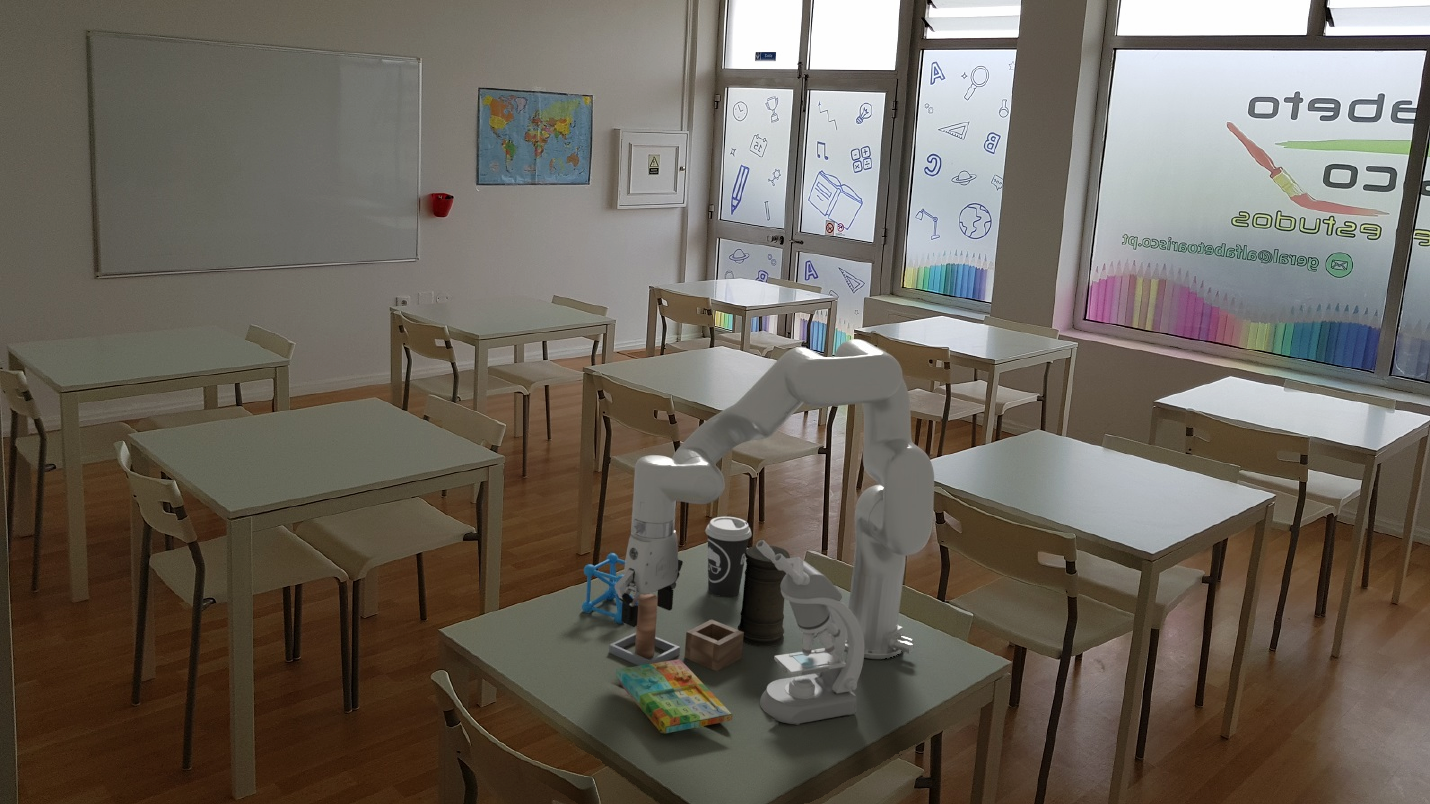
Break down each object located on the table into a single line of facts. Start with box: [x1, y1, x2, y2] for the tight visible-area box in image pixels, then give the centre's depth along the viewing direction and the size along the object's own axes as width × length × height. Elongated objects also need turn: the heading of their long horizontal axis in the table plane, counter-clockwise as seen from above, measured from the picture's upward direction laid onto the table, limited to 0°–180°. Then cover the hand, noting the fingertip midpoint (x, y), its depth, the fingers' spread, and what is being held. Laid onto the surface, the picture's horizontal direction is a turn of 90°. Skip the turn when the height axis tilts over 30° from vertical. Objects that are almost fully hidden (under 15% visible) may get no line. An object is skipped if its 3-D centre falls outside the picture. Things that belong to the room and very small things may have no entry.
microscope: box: [755, 539, 865, 726], centre depth 187 cm, size 11×19×30 cm, turn 116°
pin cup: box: [684, 619, 744, 672], centre depth 204 cm, size 7×7×6 cm
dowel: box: [634, 593, 658, 659], centre depth 203 cm, size 4×4×11 cm
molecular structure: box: [581, 552, 638, 624], centre depth 222 cm, size 10×10×10 cm
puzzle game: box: [615, 658, 733, 734], centre depth 187 cm, size 12×5×20 cm
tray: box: [608, 631, 681, 666], centre depth 204 cm, size 10×8×2 cm
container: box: [737, 544, 791, 648], centre depth 213 cm, size 9×9×18 cm
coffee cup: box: [705, 516, 752, 598], centre depth 235 cm, size 10×10×15 cm
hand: (647, 616), depth 202 cm, fingers open, 9 cm apart
